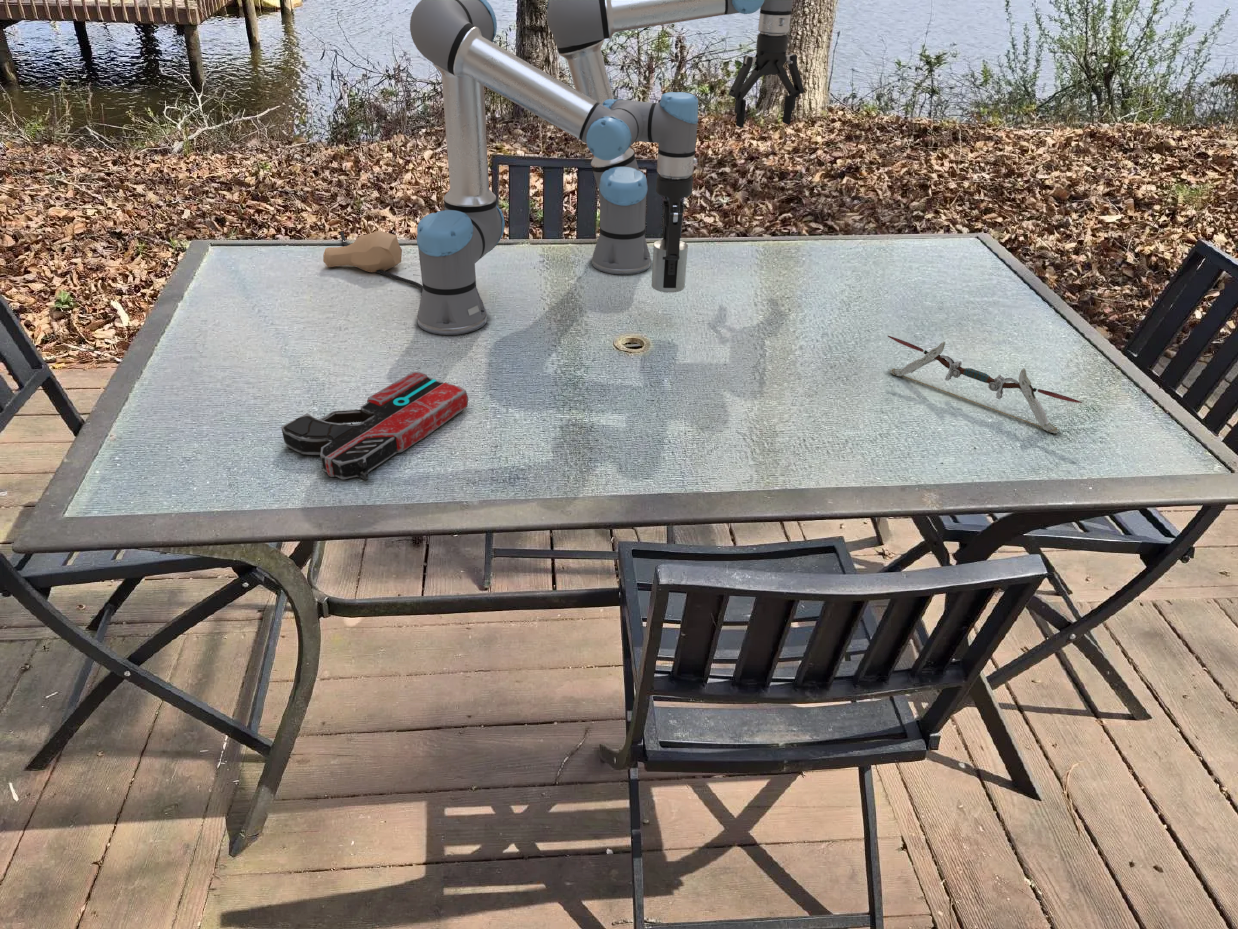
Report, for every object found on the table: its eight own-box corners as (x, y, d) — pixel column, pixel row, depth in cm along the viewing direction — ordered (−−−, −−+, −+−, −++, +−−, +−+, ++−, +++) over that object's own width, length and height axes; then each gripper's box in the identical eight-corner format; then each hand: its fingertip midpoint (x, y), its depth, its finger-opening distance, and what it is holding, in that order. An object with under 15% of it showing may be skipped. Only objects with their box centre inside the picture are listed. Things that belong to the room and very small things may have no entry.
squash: (402, 276, 219) (391, 244, 212) (324, 283, 220) (312, 251, 214) (409, 253, 226) (400, 222, 220) (335, 261, 228) (323, 229, 222)
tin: (655, 293, 190) (657, 251, 184) (648, 280, 196) (650, 239, 190) (688, 292, 191) (691, 250, 186) (680, 279, 197) (683, 238, 192)
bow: (1071, 436, 162) (1088, 388, 156) (1067, 439, 161) (1085, 392, 155) (883, 367, 183) (892, 323, 178) (878, 369, 182) (888, 325, 177)
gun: (267, 431, 148) (351, 468, 140) (394, 358, 170) (473, 387, 162) (272, 453, 151) (354, 490, 143) (397, 379, 173) (474, 408, 165)
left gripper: (698, 189, 171) (689, 298, 184) (688, 161, 188) (681, 263, 201) (660, 188, 171) (653, 298, 184) (654, 160, 188) (648, 262, 201)
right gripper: (734, 36, 206) (726, 131, 217) (825, 33, 213) (812, 125, 225) (720, 32, 211) (712, 124, 223) (809, 29, 219) (797, 118, 231)
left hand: (668, 280), depth 192 cm, fingers closed on tin, 7 cm apart
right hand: (763, 124), depth 224 cm, fingers open, 13 cm apart
